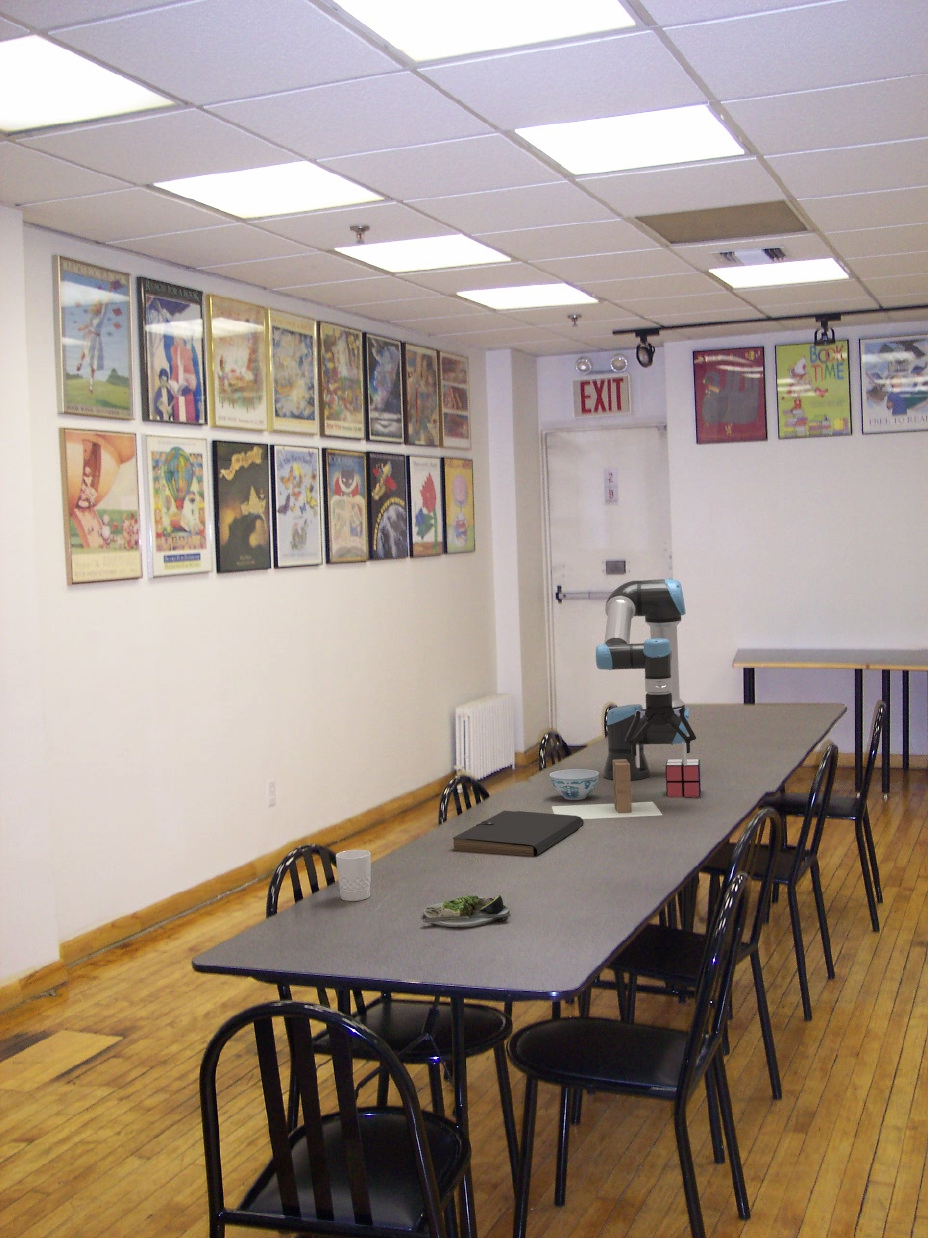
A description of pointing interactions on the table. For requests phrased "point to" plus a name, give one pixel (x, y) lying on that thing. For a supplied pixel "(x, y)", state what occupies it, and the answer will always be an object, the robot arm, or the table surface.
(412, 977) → the table surface
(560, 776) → the chinaware
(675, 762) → the puzzle cube
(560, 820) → the file folder
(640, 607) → the robot arm
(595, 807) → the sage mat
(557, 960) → the table surface
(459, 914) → the salad plate
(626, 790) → the walnut block
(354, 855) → the white cup
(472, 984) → the table surface
